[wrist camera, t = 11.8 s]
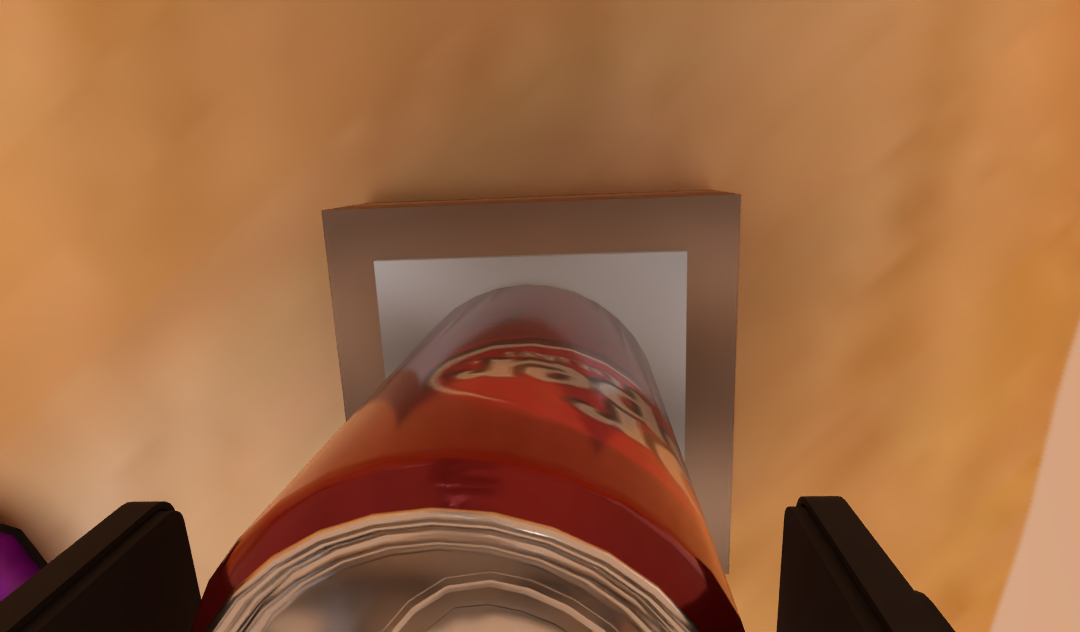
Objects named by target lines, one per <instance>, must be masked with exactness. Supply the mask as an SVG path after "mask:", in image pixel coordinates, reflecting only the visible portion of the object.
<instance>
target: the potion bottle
mask: <svg viewBox="0 0 1080 632" xmlns="http://www.w3.org/2000/svg"><path fill="white" fill-rule="evenodd" d="M46 565H47V563H46V561H45V560H44V559H43V558H42V556H41V555H40V554H39V553H38V551H37V550H36V549H35V547H34V546H33V545H32V544H31V542H30V541H29V540H28V538H27V537H26V536H25V535H24V533H23V532H22V531H21V530H20V529H17V528H13V527H10V526H7V525H3V524H0V602H1V601H2V600H3V599H4V598H6V597H7V596H8V595H9V594H11V593H12V592H13V591H14V590H16V589H17V588H18V587H19V586H21V585H22V584H23V583H25V582H26V581H27V580H28V579H30V578H31V577H32V576H33V575H35V574H36V573H37V572H38V571H40V570H41V569H42V568H44V567H45V566H46Z"/></svg>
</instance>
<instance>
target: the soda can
mask: <svg viewBox="0 0 1080 632" xmlns="http://www.w3.org/2000/svg"><path fill="white" fill-rule="evenodd" d="M190 632H745V630H744V627H743V625H742V622H741V619H740V616H739V613H738V611H737V608H736V605H735V602H734V599H733V597H732V594H731V591H730V588H729V585H728V583H727V580H726V577H725V574H724V571H723V569H722V566H721V563H720V560H719V557H718V555H717V552H716V549H715V546H714V543H713V541H712V538H711V535H710V532H709V529H708V527H707V524H706V521H705V518H704V515H703V513H702V510H701V507H700V504H699V501H698V499H697V496H696V493H695V490H694V488H693V485H692V482H691V479H690V476H689V474H688V471H687V468H686V465H685V462H684V460H683V457H682V454H681V451H680V448H679V446H678V443H677V440H676V437H675V434H674V432H673V429H672V426H671V423H670V420H669V418H668V415H667V412H666V409H665V406H664V404H663V401H662V398H661V395H660V392H659V390H658V387H657V384H656V381H655V378H654V376H653V373H652V370H651V367H650V364H649V362H648V359H647V357H646V355H645V354H644V352H643V350H642V348H641V347H640V345H639V343H638V342H637V340H636V338H635V337H634V336H633V335H632V333H631V332H630V331H629V330H628V329H627V328H626V327H625V326H624V325H623V324H622V322H621V321H620V320H619V319H618V318H617V317H615V316H614V315H613V314H611V313H610V312H608V311H607V310H606V309H604V308H603V307H602V306H600V305H599V304H598V303H596V302H594V301H592V300H590V299H587V298H585V297H583V296H581V295H579V294H577V293H575V292H571V291H567V290H563V289H559V288H555V287H552V286H541V285H518V286H510V287H503V288H498V289H495V290H492V291H489V292H486V293H483V294H481V295H478V296H475V297H473V298H471V299H470V300H468V301H466V302H465V303H463V304H461V305H460V306H458V307H456V308H455V309H453V310H452V311H451V312H450V313H449V314H448V315H447V316H445V317H444V318H443V319H442V320H441V321H440V322H439V323H438V324H437V325H436V326H435V327H434V328H433V329H432V330H431V331H430V332H429V333H428V334H427V335H426V336H425V338H424V339H423V340H422V341H421V342H420V343H419V344H418V345H417V346H416V347H415V348H414V349H413V351H412V352H411V353H410V354H409V355H408V356H407V357H406V358H405V359H404V360H403V361H402V362H401V364H400V365H399V366H398V367H397V368H396V369H395V370H394V371H393V372H392V373H391V374H390V375H389V376H388V378H387V379H386V380H385V381H384V382H383V383H382V384H381V385H380V386H379V387H378V388H377V389H376V391H375V392H374V393H373V394H372V395H371V396H370V397H369V398H368V399H367V400H366V401H365V402H364V404H363V405H362V406H361V407H360V408H359V409H358V410H357V411H356V412H355V413H354V414H353V415H352V416H351V418H350V419H349V420H348V421H347V422H346V423H345V424H344V425H343V426H342V427H341V428H340V429H339V431H338V432H337V433H336V434H335V435H334V436H333V437H332V438H331V439H330V440H329V441H328V442H327V443H326V445H325V446H324V447H323V448H322V449H321V450H320V451H319V452H318V453H317V454H316V455H315V456H314V458H313V459H312V460H311V461H310V462H309V463H308V464H307V465H306V466H305V467H304V468H303V469H302V471H301V472H300V473H299V474H298V475H297V476H296V477H295V478H294V479H293V480H292V481H291V482H290V483H289V485H288V486H287V487H286V488H285V489H284V490H283V491H282V492H281V493H280V494H279V495H278V496H277V498H276V499H275V500H274V501H273V502H272V503H271V504H270V505H269V506H268V507H267V508H266V509H265V511H264V512H263V513H262V514H261V515H260V516H259V517H258V518H257V519H256V520H255V521H254V522H253V523H252V525H251V526H250V527H249V528H248V529H247V530H246V531H245V532H244V533H243V534H242V535H241V536H240V538H239V539H238V540H237V541H236V542H235V544H234V545H233V547H232V548H231V550H230V551H229V553H228V554H227V555H226V557H225V558H224V560H223V561H222V563H221V564H220V565H219V567H218V568H217V570H216V571H215V573H214V574H213V576H212V577H211V578H210V580H209V582H208V584H207V587H206V589H205V592H204V595H203V597H202V600H201V602H200V605H199V608H198V610H197V613H196V615H195V618H194V621H193V623H192V626H191V629H190Z"/></svg>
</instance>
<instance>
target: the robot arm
mask: <svg viewBox="0 0 1080 632" xmlns="http://www.w3.org/2000/svg"><path fill="white" fill-rule="evenodd" d="M200 602H201V596H200V592H199V587H198V582H197V578H196V573H195V568H194V564H193V559H192V554H191V550H190V545H189V540H188V536H187V531H186V526H185V522H184V518H183V516H182V514H181V513H180V512H178V511H175V509H174V507H173V506H172V505H171V504H170V503H168V502H127V503H126V504H124V505H122V506H121V507H119V508H118V509H117V510H116V511H114V512H113V513H112V514H111V515H109V516H108V517H107V518H105V519H104V520H103V521H102V522H100V523H99V524H98V525H97V526H95V527H94V528H93V529H92V530H90V531H89V532H88V533H87V534H85V535H84V536H83V537H81V538H80V539H79V540H78V541H76V542H75V543H74V544H73V545H71V546H70V547H69V548H68V549H66V550H65V551H64V552H62V553H61V554H60V555H59V556H57V557H56V558H55V559H54V560H52V561H51V562H50V563H49V564H47V565H46V566H45V567H44V568H42V569H41V570H40V571H38V572H37V573H36V574H35V575H33V576H32V577H31V578H30V579H28V580H27V581H26V582H25V583H23V584H22V585H21V586H19V587H18V588H17V589H16V590H14V591H13V592H12V593H11V594H9V595H8V596H7V597H6V598H4V599H3V600H2V601H1V602H0V632H190V629H191V626H192V623H193V621H194V618H195V615H196V613H197V610H198V608H199V605H200ZM777 632H955V631H954V629H953V628H952V627H951V626H950V624H949V623H948V622H947V620H946V619H945V618H944V617H943V615H942V614H941V613H940V611H939V610H938V609H937V608H936V606H935V605H934V604H933V603H932V601H931V600H930V599H929V598H928V597H927V596H926V595H925V594H923V593H921V592H918V591H914V590H913V589H912V587H911V586H910V585H909V583H908V582H907V581H906V579H905V578H904V577H903V575H902V574H901V573H900V572H899V570H898V569H897V568H896V566H895V565H894V564H893V562H892V561H891V560H890V558H889V557H888V556H887V554H886V553H885V552H884V551H883V549H882V548H881V547H880V545H879V544H878V543H877V541H876V540H875V539H874V537H873V536H872V535H871V533H870V532H869V531H868V530H867V528H866V527H865V526H864V524H863V523H862V522H861V520H860V519H859V518H858V516H857V515H856V514H855V512H854V511H853V510H852V509H851V507H850V506H849V505H848V503H847V502H846V501H845V500H844V499H843V498H842V497H839V496H803V497H800V498H799V499H798V502H797V506H796V507H787V508H786V510H785V516H784V529H783V544H782V559H781V574H780V589H779V604H778V619H777Z"/></svg>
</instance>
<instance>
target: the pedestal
mask: <svg viewBox="0 0 1080 632" xmlns="http://www.w3.org/2000/svg"><path fill="white" fill-rule="evenodd" d="M740 203H741V195H740V194H734V193H728V192H721V191H715V190H698V191H672V192H646V193H620V194H594V195H568V196H542V197H516V198H490V199H464V200H438V201H411V202H385V203H365V204H359V205H352V206H346V207H340V208H334V209H327V210H321V211H322V219H323V228H324V237H325V245H326V254H327V262H328V271H329V279H330V288H331V296H332V305H333V313H334V322H335V330H336V339H337V347H338V356H339V364H340V373H341V381H342V390H343V398H344V407H345V415H346V422H347V421H348V420H349V419H350V418H351V416H352V415H353V414H354V413H355V412H356V411H357V410H358V409H359V408H360V407H361V406H362V405H363V404H364V402H365V401H366V400H367V399H368V398H369V397H370V396H371V395H372V394H373V393H374V392H375V391H376V389H377V388H378V387H379V386H380V385H381V384H382V383H383V382H384V381H385V380H386V379H387V378H388V376H389V375H390V374H391V373H392V372H393V371H394V370H395V369H396V368H397V367H398V366H399V365H400V364H401V362H402V361H403V360H404V359H405V358H406V357H407V356H408V355H409V354H410V353H411V352H412V351H413V349H414V348H415V347H416V346H417V345H418V344H419V343H420V342H421V341H422V340H423V339H424V338H425V336H426V335H427V334H428V333H429V332H430V331H431V330H432V329H433V328H434V327H435V326H436V325H437V324H438V323H439V322H440V321H441V320H442V319H443V318H444V317H445V316H447V315H448V314H449V313H450V312H451V311H452V310H453V309H455V308H456V307H458V306H460V305H461V304H463V303H465V302H466V301H468V300H470V299H471V298H473V297H475V296H478V295H481V294H483V293H486V292H489V291H492V290H495V289H498V288H503V287H510V286H518V285H541V286H552V287H555V288H559V289H563V290H567V291H571V292H575V293H577V294H579V295H581V296H583V297H585V298H587V299H590V300H592V301H594V302H596V303H598V304H599V305H600V306H602V307H603V308H604V309H606V310H607V311H608V312H610V313H611V314H613V315H614V316H615V317H617V318H618V319H619V320H620V321H621V322H622V324H623V325H624V326H625V327H626V328H627V329H628V330H629V331H630V332H631V333H632V335H633V336H634V337H635V338H636V340H637V342H638V343H639V345H640V347H641V348H642V350H643V352H644V354H645V355H646V357H647V359H648V362H649V364H650V367H651V370H652V373H653V376H654V378H655V381H656V384H657V387H658V390H659V392H660V395H661V398H662V401H663V404H664V406H665V409H666V412H667V415H668V418H669V420H670V423H671V426H672V429H673V432H674V434H675V437H676V440H677V443H678V446H679V448H680V451H681V454H682V457H683V460H684V462H685V465H686V468H687V471H688V474H689V476H690V479H691V482H692V485H693V488H694V490H695V493H696V496H697V499H698V501H699V504H700V507H701V510H702V513H703V515H704V518H705V521H706V524H707V527H708V529H709V532H710V535H711V538H712V541H713V543H714V546H715V549H716V552H717V555H718V557H719V560H720V563H721V566H722V569H723V571H724V574H729V552H730V521H731V489H732V457H733V425H734V394H735V362H736V330H737V298H738V267H739V235H740Z"/></svg>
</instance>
